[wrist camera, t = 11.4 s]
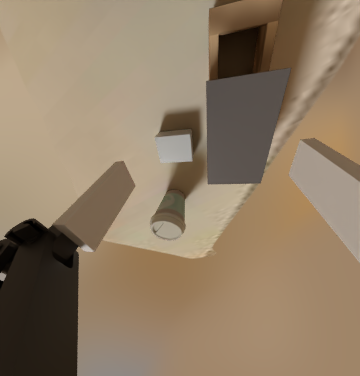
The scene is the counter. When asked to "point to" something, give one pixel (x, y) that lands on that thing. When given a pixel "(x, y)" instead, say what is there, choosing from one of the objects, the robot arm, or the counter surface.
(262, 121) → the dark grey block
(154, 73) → the counter surface
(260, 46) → the brown long open box
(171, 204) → the coffee cup
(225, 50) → the counter surface
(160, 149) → the small white cube
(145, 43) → the counter surface
